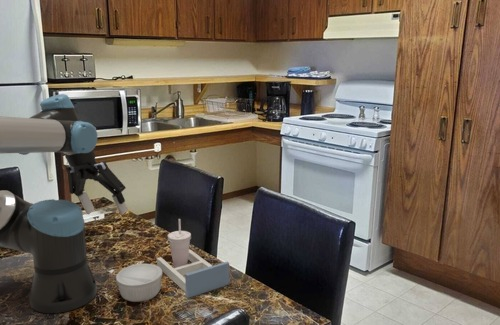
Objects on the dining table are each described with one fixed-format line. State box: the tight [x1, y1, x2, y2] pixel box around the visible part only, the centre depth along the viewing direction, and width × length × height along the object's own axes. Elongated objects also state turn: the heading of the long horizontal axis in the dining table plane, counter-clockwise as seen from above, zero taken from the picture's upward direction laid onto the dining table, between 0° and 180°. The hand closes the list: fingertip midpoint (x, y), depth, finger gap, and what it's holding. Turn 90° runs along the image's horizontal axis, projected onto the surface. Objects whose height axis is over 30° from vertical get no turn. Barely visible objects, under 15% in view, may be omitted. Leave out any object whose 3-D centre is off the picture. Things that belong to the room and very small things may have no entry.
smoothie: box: [167, 218, 192, 268], centre depth 120 cm, size 6×6×14 cm
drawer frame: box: [156, 249, 230, 299], centre depth 116 cm, size 12×20×6 cm, turn 35°
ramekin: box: [115, 263, 164, 303], centre depth 107 cm, size 11×11×5 cm
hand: (107, 212), depth 129 cm, fingers open, 13 cm apart
